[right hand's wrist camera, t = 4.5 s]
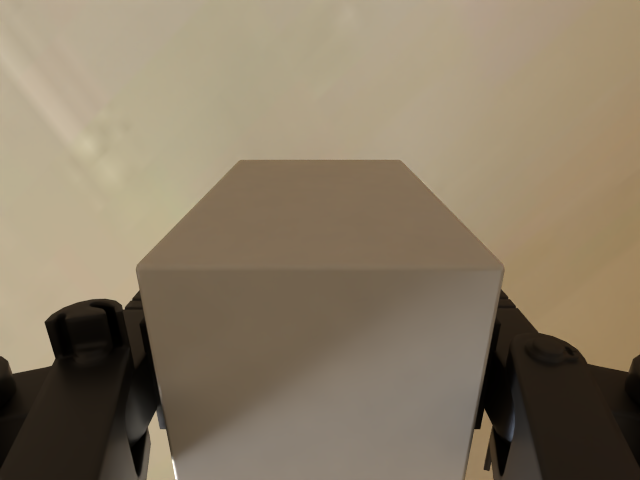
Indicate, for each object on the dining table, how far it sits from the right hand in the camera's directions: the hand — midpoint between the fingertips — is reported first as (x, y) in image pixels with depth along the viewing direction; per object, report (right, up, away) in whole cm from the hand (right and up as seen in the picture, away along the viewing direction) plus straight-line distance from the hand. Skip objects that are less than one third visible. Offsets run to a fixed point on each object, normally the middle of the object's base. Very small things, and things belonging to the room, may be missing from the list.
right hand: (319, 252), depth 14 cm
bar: (0, -7, +4) cm, 8 cm away
